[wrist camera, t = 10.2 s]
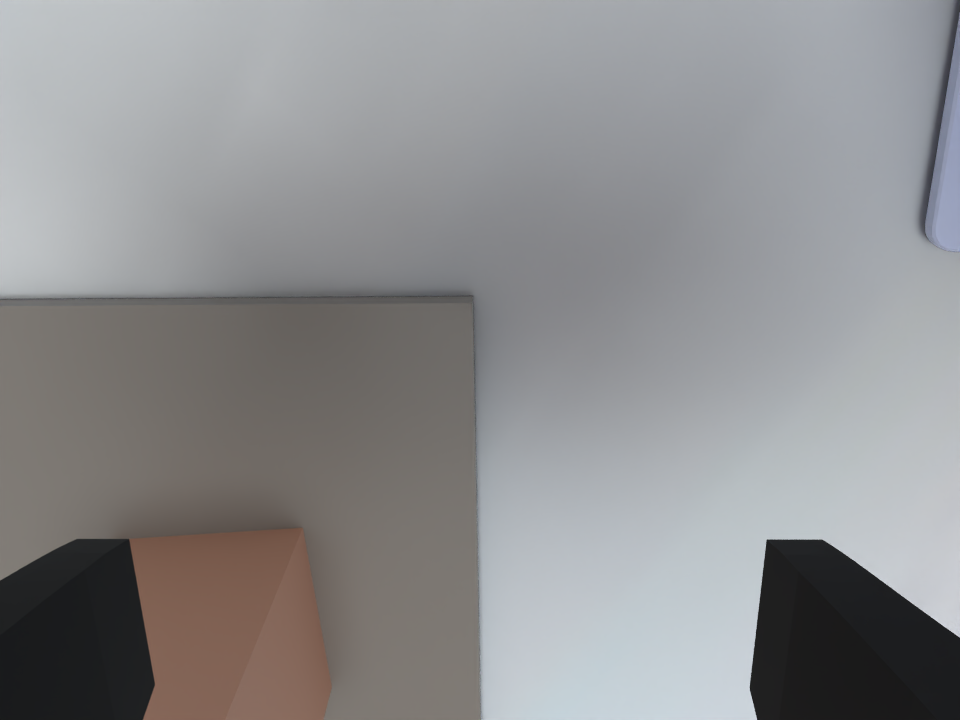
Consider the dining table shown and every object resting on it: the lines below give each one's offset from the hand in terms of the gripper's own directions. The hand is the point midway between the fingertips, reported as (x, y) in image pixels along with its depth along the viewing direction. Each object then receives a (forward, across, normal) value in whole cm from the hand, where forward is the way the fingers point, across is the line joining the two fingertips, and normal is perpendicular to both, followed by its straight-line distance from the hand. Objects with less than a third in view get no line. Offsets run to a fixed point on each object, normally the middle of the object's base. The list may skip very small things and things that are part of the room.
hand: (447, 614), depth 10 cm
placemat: (+9, +6, +7) cm, 13 cm away
